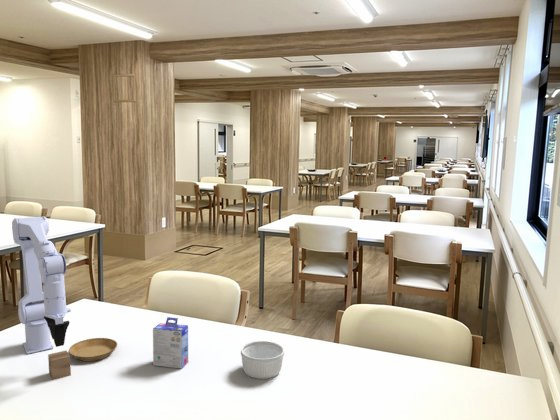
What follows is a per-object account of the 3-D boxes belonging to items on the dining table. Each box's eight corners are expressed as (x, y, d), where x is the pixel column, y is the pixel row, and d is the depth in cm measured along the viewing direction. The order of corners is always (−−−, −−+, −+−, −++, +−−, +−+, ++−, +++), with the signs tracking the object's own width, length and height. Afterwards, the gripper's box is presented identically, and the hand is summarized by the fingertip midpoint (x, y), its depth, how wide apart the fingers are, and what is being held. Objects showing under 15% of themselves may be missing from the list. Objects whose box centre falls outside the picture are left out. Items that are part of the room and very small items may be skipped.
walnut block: (49, 373, 140) (48, 354, 139) (67, 369, 143) (66, 350, 142) (52, 380, 136) (51, 360, 135) (70, 375, 139) (69, 356, 138)
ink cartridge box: (189, 361, 149) (189, 317, 147) (182, 369, 144) (181, 324, 142) (160, 358, 151) (159, 315, 149) (152, 365, 146) (151, 321, 144)
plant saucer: (100, 341, 164) (100, 334, 164) (126, 352, 156) (126, 344, 155) (60, 355, 152) (59, 348, 152) (86, 369, 144) (85, 361, 143)
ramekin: (290, 366, 147) (291, 345, 146) (272, 385, 135) (272, 362, 134) (253, 358, 152) (253, 337, 152) (232, 375, 141) (232, 353, 140)
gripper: (73, 299, 133) (76, 346, 134) (65, 289, 145) (68, 332, 146) (45, 303, 129) (49, 351, 130) (40, 293, 142) (43, 337, 143)
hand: (57, 341), depth 138 cm, fingers open, 7 cm apart
